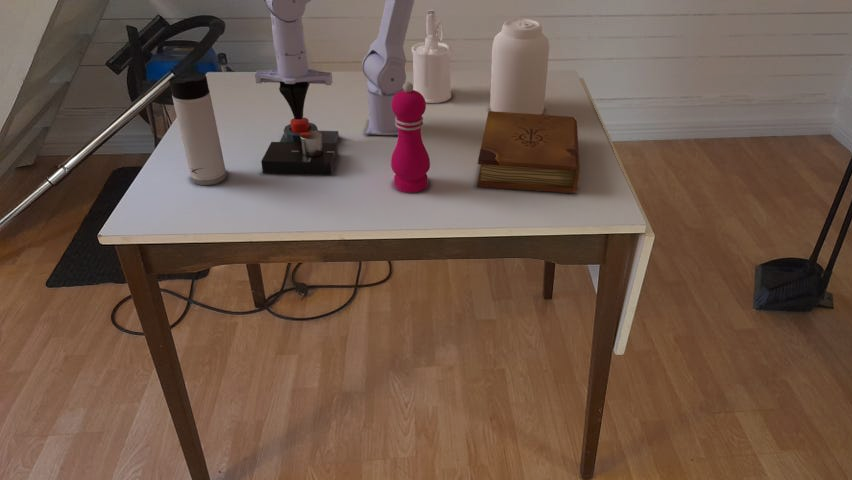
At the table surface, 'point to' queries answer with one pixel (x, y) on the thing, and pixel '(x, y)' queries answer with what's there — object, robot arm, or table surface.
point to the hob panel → (298, 159)
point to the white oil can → (432, 64)
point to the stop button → (300, 125)
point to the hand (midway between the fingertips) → (298, 117)
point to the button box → (295, 137)
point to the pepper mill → (409, 141)
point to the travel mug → (198, 128)
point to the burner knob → (311, 143)
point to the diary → (529, 152)
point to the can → (519, 68)
